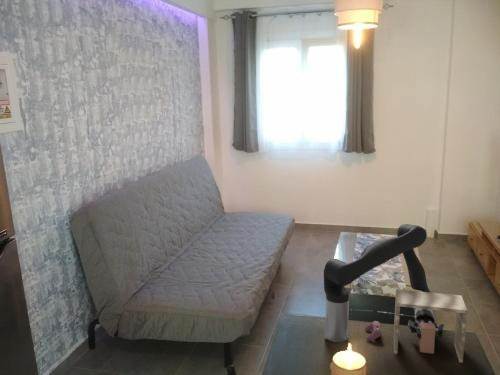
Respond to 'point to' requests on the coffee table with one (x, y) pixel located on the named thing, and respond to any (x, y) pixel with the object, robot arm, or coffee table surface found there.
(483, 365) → the coffee table surface
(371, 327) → the mauve looped ornament
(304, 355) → the coffee table surface
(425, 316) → the robot arm
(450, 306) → the clear acrylic riser
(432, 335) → the terracotta block
